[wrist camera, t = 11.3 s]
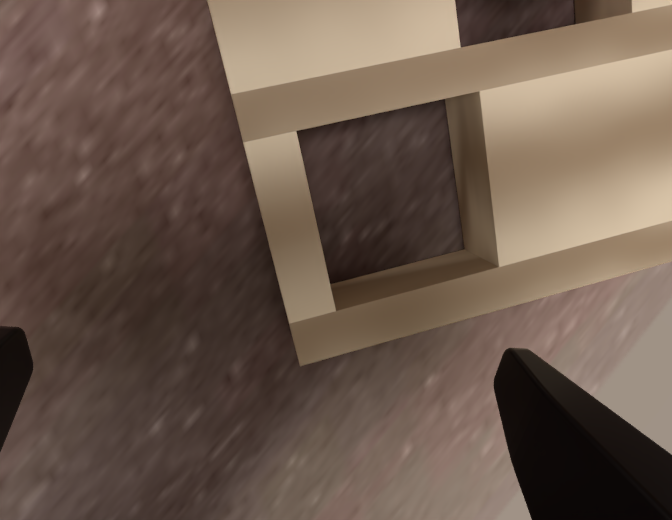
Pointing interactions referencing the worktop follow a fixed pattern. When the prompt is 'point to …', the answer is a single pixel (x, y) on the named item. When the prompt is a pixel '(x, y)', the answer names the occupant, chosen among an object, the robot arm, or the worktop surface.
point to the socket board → (460, 151)
